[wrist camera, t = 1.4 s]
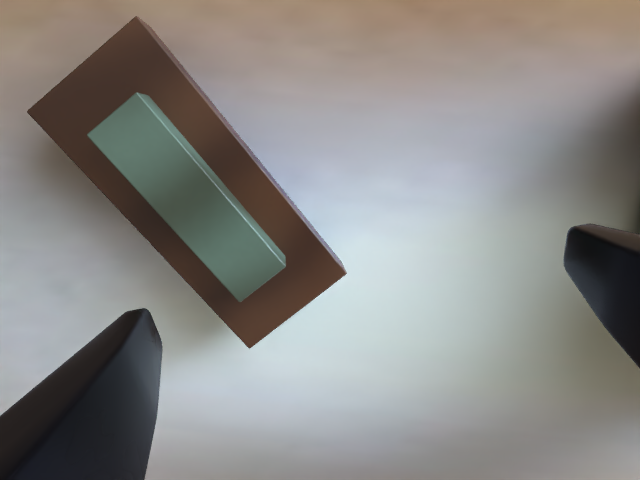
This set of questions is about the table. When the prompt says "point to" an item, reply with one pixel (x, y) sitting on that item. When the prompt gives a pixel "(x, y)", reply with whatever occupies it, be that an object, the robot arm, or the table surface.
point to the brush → (188, 182)
